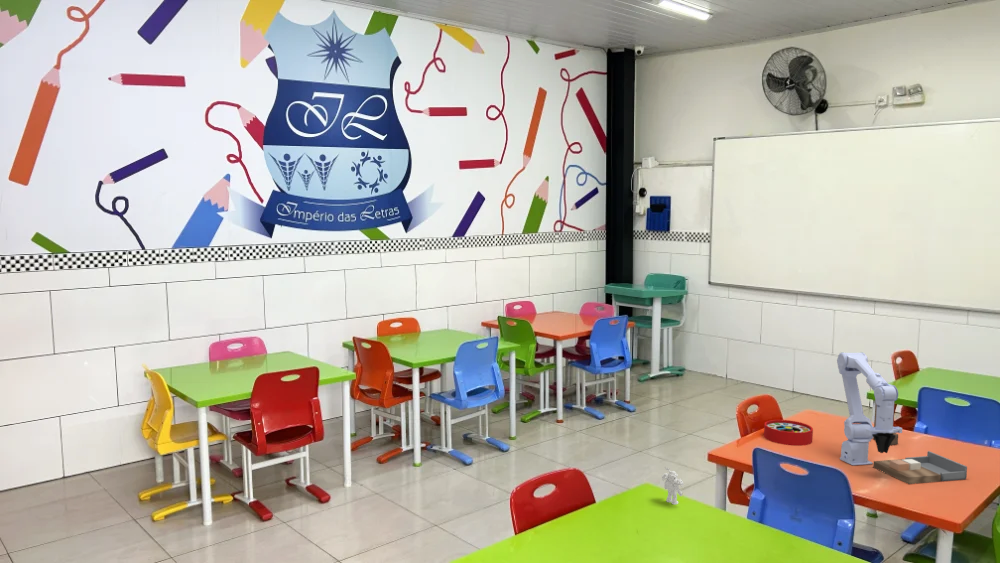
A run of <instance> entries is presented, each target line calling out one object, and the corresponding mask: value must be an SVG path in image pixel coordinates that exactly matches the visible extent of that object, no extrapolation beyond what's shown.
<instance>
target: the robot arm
mask: <svg viewBox="0 0 1000 563" xmlns="http://www.w3.org/2000/svg"><path fill="white" fill-rule="evenodd" d="M836 361H837V362H836V363H837V368H838V372H839V374H840V375H841V378H842V381H843V382H842V384H843V388H844V391H845V398H846V403H847V407H848V408H847V409H848V413H849V416H848V417H847V418H846V419H845V420H844V422H843V425H844V428H843V432H844V436H845V437H846V439H847V440H844V441H843V442H842V443H841V450H840V451H841V452H840V457H839V459H840V460H841V461H843V462H845V463H847V464H849V465H851V466H861V465H863V466H864V465H873V464H874V462H872V461H871V460H869V446H870V442H871V440H874V439H875V440H874V442H875V444H876V448H877V452H878V453H880V454H884V453H886V454H887V453H888V451H889V449H890V446H891V445H890V444H891V443H892V441H893V440H894V439H895V435H894V434H893V433H896V434H902V433H903V427H900V426H894V414H895V413H894V412H895V401H897V400H898V399H899V390H898V388H897V386H896V385H894V384H889V383H888V382H887V381H886V379H885V378H884V377H883V376H882V375H881V373H879V372H875V371H874V369H873V368H872V367H871V366H870V364H869V358H868V355H866V353H865V352H862V351H860V352H841V351H840V352H839V354H838V356H837V359H836ZM860 374H862V375H863V376H864V377H865V378H866V384H868V386H869V387H870V388H871V390H872V391H873V396H874V398H875V402H876V404H877V411H876V427H874V425H873V424H872V420H871V419H870V417H867V416H866V415H865V414H864V409H863V404H862V398H861V394H860V389H859V384H858V379H857V377H858V375H860ZM873 437H874V439H873Z"/></svg>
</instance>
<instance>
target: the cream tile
mask: <svg viewBox="0 0 1000 563" xmlns="http://www.w3.org/2000/svg"><path fill="white" fill-rule="evenodd" d="M903 459H904V460H902V461H904V462H906V463H908V464H909V470H917V469H920V468H921V463H920V462H918V461H915V460H913V459H905V458H903Z"/></svg>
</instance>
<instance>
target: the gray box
mask: <svg viewBox="0 0 1000 563" xmlns="http://www.w3.org/2000/svg"><path fill="white" fill-rule="evenodd" d="M926 454H927V455H924V456H911V457H909V456H908V457H905V458H904V459H913V460H915V461H918V462H920V463H921V467H924V468H926V469H928V470H931V471H933V472H935V473H937V474H940V475H941V481H940V482H950V481H953V482H954V481H961V480H962V481H963V480H967V475H968V466H967V465H964V464H962V463H960V462H957V461H955V460H953V459H949V458H948V457H945V456H942V455H940V454H937V453H935V452H933V451H930V450H927V452H926Z"/></svg>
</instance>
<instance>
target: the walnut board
mask: <svg viewBox="0 0 1000 563" xmlns="http://www.w3.org/2000/svg"><path fill="white" fill-rule="evenodd" d="M904 459H905V458H901V459H899V458H898V459H896V460H904ZM890 460H891V459H889V460H888V459H885V460H883V459H882V460H873V464H872V465H873V467H872V468H874V469H876V470H878V469H879V470H878V471H880V470H881V471H880V472H882V471H883V472H882V473H884V472H885V473H884V474H886V473H887V474H886V475H888V474H889V475H888V476H890V475H891V477H892V476H893V477H892V478H894V477H895V479H896V480H898V481H900V482H903V483H906V484H907V483H908V484H907V485H913V484H914V485H915V483H916V484H925V483H926V484H927V483H938V482H942V481H941V475H940V474H937V473H935V472H933V471H931V470H928V469H926V468H924V467H921V468H920V469H917V470H904V471H897V470H895V469H893V468H891V467H890Z"/></svg>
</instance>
